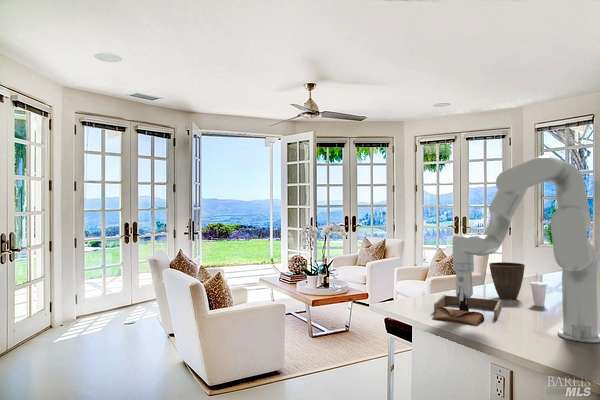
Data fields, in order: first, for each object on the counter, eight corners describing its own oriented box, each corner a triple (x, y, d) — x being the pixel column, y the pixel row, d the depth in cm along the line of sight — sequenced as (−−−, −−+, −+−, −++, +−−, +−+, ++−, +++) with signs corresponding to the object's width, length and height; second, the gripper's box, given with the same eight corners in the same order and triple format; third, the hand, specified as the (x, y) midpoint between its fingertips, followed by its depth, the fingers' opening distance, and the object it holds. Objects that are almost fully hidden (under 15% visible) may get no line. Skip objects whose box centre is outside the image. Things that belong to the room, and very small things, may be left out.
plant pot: (493, 301, 192) (492, 265, 192) (487, 294, 206) (486, 261, 207) (529, 302, 188) (528, 266, 189) (520, 295, 203) (519, 262, 203)
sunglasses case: (429, 319, 162) (432, 302, 164) (434, 325, 166) (437, 308, 169) (479, 326, 151) (481, 308, 154) (483, 332, 156) (485, 315, 159)
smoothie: (532, 303, 187) (531, 271, 187) (549, 305, 183) (548, 272, 183) (529, 306, 182) (528, 273, 182) (546, 308, 178) (545, 274, 178)
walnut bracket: (497, 320, 159) (496, 309, 159) (434, 313, 170) (434, 303, 170) (501, 309, 175) (501, 300, 175) (443, 304, 187) (443, 295, 187)
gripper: (470, 270, 156) (471, 320, 155) (476, 265, 169) (477, 311, 168) (449, 268, 160) (450, 317, 159) (456, 264, 173) (457, 309, 172)
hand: (464, 314), depth 164 cm, fingers closed
